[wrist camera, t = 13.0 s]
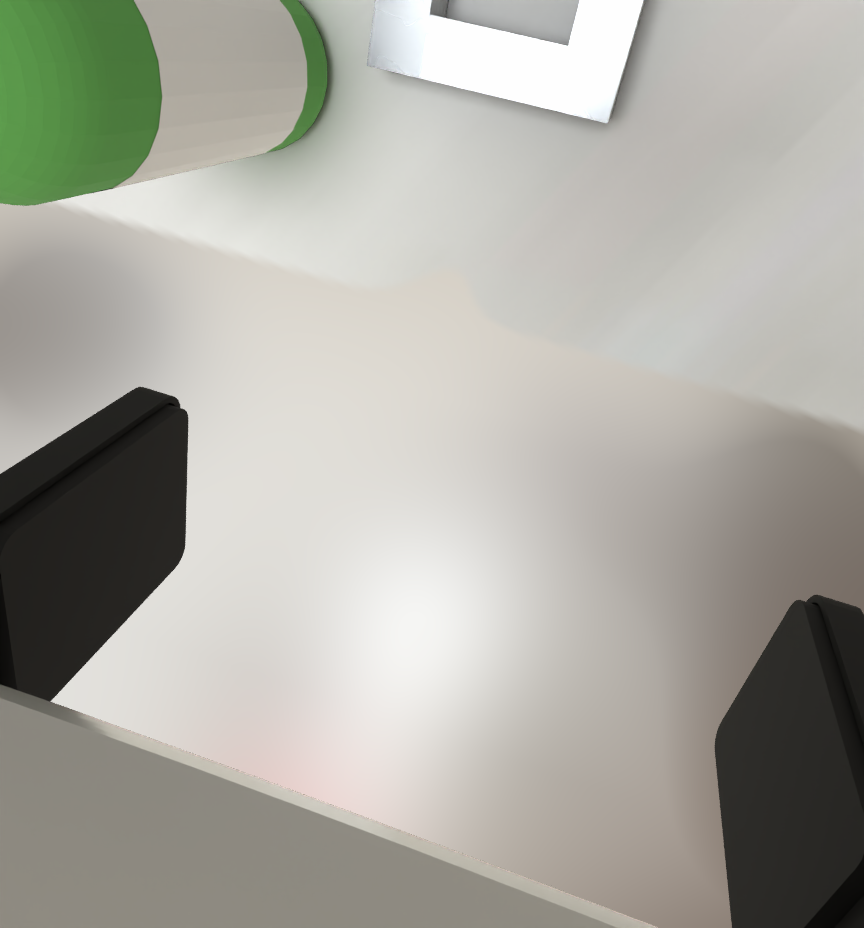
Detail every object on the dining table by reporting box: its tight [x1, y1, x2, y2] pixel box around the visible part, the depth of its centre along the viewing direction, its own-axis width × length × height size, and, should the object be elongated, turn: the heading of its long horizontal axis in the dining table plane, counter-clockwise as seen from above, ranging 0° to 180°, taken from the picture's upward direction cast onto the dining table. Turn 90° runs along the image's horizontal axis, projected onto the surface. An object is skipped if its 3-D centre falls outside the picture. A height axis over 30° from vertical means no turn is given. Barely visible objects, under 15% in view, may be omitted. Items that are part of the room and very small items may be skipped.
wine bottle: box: [0, 0, 327, 206], centre depth 25 cm, size 8×8×30 cm
